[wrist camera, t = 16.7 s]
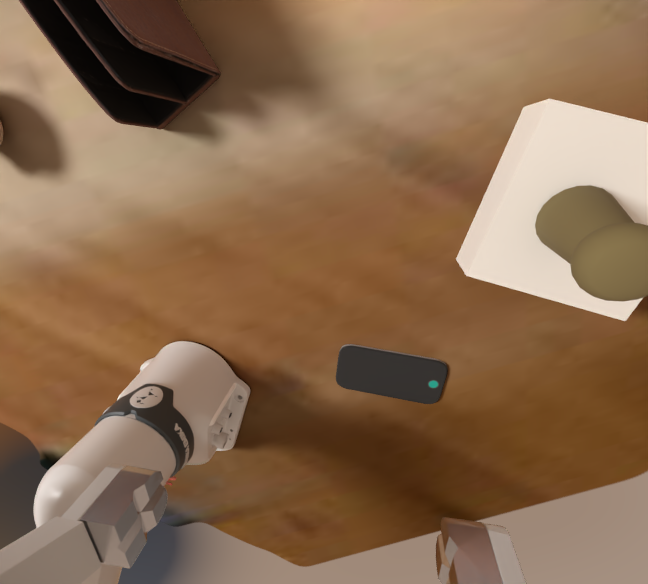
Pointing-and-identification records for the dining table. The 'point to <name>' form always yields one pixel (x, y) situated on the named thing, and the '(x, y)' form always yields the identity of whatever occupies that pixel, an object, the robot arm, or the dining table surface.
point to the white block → (546, 181)
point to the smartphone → (391, 373)
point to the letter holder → (129, 55)
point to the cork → (597, 242)
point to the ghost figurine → (1, 133)
